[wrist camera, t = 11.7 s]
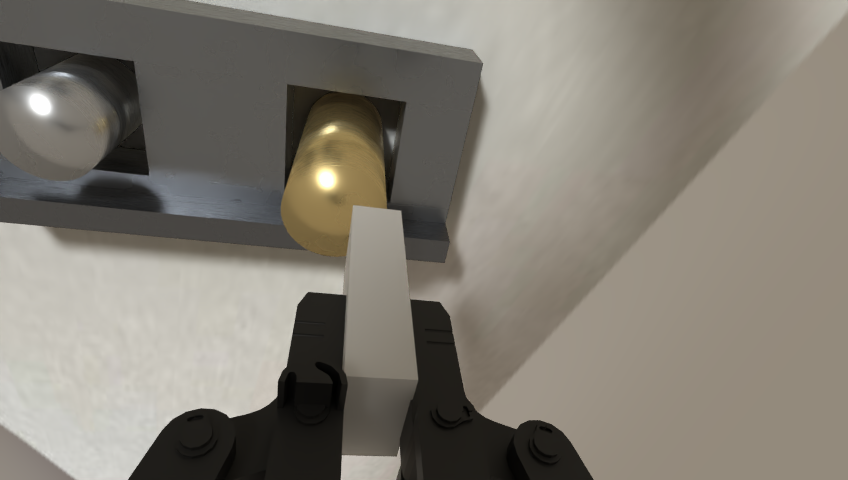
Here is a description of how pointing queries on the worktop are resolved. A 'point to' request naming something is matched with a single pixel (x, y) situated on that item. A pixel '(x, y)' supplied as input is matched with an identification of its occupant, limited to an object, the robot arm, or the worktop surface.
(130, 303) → the worktop surface
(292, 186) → the gold metal cylinder
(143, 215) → the jig
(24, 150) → the silver metal cylinder
